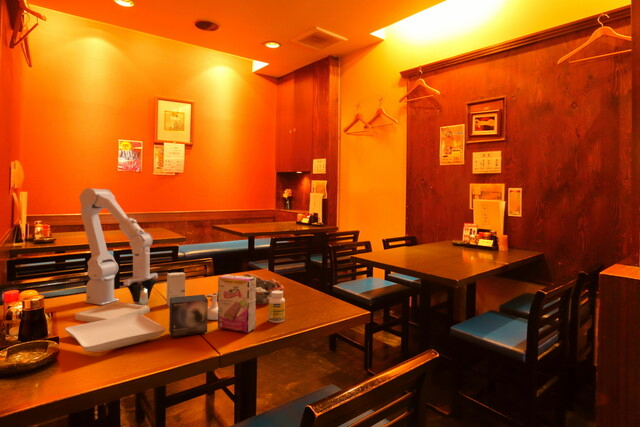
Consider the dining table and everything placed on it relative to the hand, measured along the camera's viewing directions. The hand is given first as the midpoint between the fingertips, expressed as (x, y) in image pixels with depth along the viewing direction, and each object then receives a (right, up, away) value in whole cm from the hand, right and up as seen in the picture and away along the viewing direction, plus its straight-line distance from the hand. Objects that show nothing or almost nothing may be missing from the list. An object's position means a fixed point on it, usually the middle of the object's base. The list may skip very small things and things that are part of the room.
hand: (141, 300), depth 142 cm
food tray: (+40, -3, +10) cm, 41 cm away
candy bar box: (+42, -3, -25) cm, 49 cm away
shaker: (0, -2, 0) cm, 2 cm away
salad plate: (+9, -4, -34) cm, 35 cm away
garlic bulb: (+32, -3, -15) cm, 35 cm away
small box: (+28, -3, -28) cm, 40 cm away
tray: (-3, -2, -14) cm, 14 cm away
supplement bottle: (+54, -3, -16) cm, 56 cm away
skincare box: (+13, -2, +1) cm, 13 cm away
